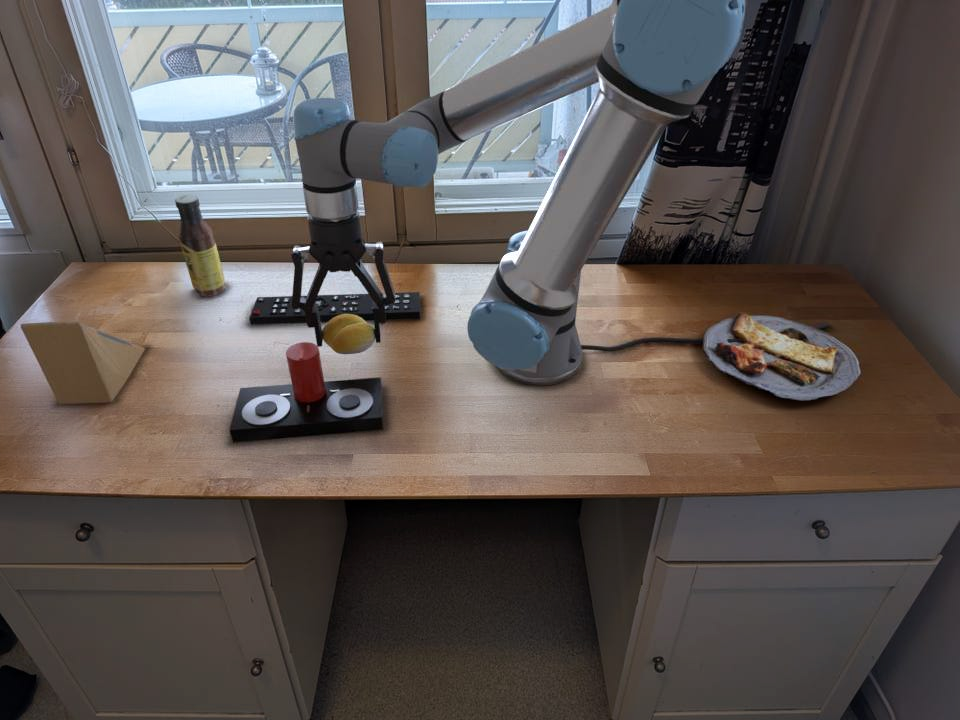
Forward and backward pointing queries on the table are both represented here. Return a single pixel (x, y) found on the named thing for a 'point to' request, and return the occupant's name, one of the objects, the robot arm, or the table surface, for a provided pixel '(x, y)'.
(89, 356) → the sandwich container
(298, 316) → the remote control
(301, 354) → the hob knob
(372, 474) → the table surface
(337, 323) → the bread roll
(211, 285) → the sauce bottle
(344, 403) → the burner rings
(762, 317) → the food plate
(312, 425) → the hob
